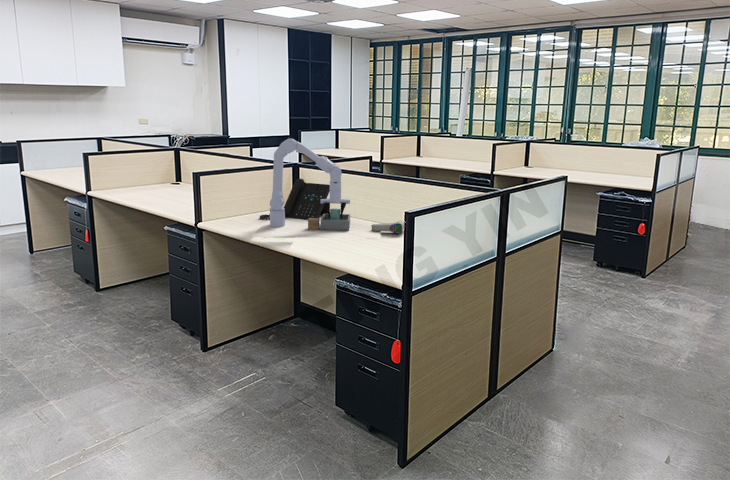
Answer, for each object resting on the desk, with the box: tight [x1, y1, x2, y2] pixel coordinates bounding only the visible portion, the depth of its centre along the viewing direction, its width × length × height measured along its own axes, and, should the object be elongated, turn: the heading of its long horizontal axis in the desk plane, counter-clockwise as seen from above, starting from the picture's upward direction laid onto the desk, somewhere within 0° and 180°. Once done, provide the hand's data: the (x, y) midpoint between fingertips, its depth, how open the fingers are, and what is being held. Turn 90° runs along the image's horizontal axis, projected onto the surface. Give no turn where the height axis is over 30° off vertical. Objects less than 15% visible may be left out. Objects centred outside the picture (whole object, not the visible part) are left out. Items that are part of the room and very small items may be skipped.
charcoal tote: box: [320, 213, 351, 232], centre depth 269 cm, size 18×14×5 cm
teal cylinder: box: [330, 208, 341, 220], centre depth 271 cm, size 5×5×7 cm
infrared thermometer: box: [371, 220, 405, 234], centre depth 264 cm, size 5×12×15 cm
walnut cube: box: [307, 217, 320, 231], centre depth 263 cm, size 5×5×5 cm
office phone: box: [259, 178, 330, 221], centre depth 293 cm, size 29×28×20 cm
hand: (335, 217), depth 272 cm, fingers open, 5 cm apart
